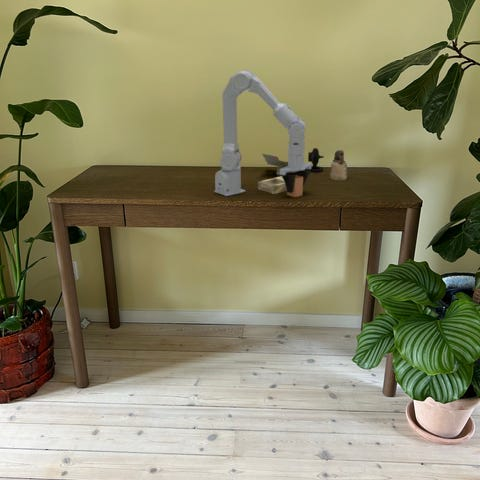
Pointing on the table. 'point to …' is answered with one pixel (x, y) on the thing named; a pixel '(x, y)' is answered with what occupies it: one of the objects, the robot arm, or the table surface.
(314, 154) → the webcam
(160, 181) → the table surface
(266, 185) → the beige piece
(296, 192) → the block
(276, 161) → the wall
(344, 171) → the figurine
